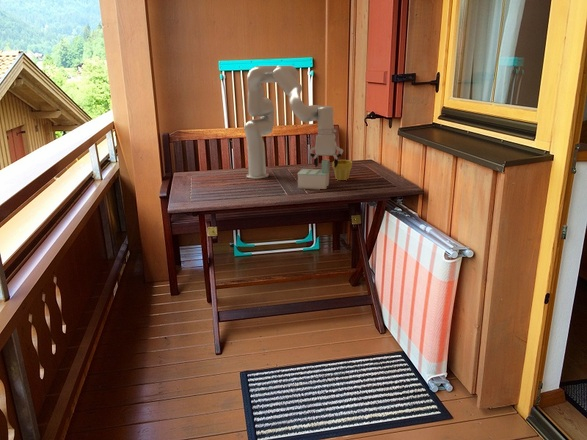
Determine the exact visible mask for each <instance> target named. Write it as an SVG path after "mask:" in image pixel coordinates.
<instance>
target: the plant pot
mask: <svg viewBox="0 0 587 440" xmlns="http://www.w3.org/2000/svg"><path fill="white" fill-rule="evenodd" d="M331 166H332V169H333V172H334V177H335V180H336V179H337V180H336V181H338V180H346V181H348V180H349V177H350V173H351V169H352V168H353V161H352V160H349V159H338V165H337V167H334V160H333V161H332V165H331ZM347 179H348V180H347Z"/></svg>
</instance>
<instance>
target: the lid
mask: <svg viewBox="0 0 587 440" xmlns="http://www.w3.org/2000/svg"><path fill="white" fill-rule="evenodd" d="M328 173H329V174H330V159H329V158H325V159H324V158H323V159H322V160H321V168H318V169H314V168H301V169H300V170H299V171H298V172H297V173H296V175H297V176H298V175H309V176H326V175H327V174H328Z"/></svg>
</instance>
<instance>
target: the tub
mask: <svg viewBox="0 0 587 440" xmlns="http://www.w3.org/2000/svg"><path fill="white" fill-rule="evenodd" d="M329 185H330V172H329V173H328V174H327V175H326V176H309V175H297V189H300V190H301V189H303V190H304V189H305V190H320V189H327V188H328V187H327V186H329Z"/></svg>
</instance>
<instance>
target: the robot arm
mask: <svg viewBox="0 0 587 440" xmlns="http://www.w3.org/2000/svg"><path fill="white" fill-rule="evenodd" d="M298 79H299V72H298V70H297V68H296V67H295V66H293V65H257V66H254V67H252V68H251V69H250V70H249V71H248V73H247V76H246V83H247V85H246V86H247V113H248V115H249V116H250V117H253V119H250V120H248V121H246V122H245V124H244V129H243V130H244V135H245V137H246V146H247V147H246V149H247V161H248V163H247V164H248V173H246V178H248V179H250V180H251V179H257V180H259V179H265V178H269V173H268V172H267V171H266V169H267V166H266V150H265V149H266V148H265V142H264V139H263V137H262V136H267V135H271V133H272V132H273V129H274V123H275V122H274V120H275V119H274V117H275V115H274V114H275V106H274V102H273V101H272V100H271V99H270V98H268V97H264V95H265V94H264V93H265V90H264V87H263V85H262V84H269V83H271V84H272V83H276V84H277V85H278V86H279V88H281V90H282V91H283V92H284V94H285V95H286V96H287V97H288V103H289V107H290V109H291V111H292V113H293V114H294V115H295V116H296V117H297V119H298V120H299V121H301V122H303V123H309V122H315V121H317V134H316V137H315V146H313V147H312V148H310V149H308V152H309V154H310V156H311V157H312V158H313V162H314V163H313V164H314V167H315V168H317V167H318V166H319V159H318V156H324V157H325V156H330V157H331V156H333V158H334V160H333V161H334V167H337V165H338V160H339V158H341V156H342V154H344V153H343V152H344V149H343V148H340V147H339V146H337V138H336V134H335V133H337V129H334V107H333V106H330V105H319V104H313V105H306V104H305V103H304V102H303V101H302V98H301V97H300V94H301V92H302V90H303V86H302V84H301V83H300V82H299V81H298ZM258 117H259V118H258ZM313 151H315V152H314V153H315V154H314V153H313ZM337 151H338V152H339V153H338V154H337Z"/></svg>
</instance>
